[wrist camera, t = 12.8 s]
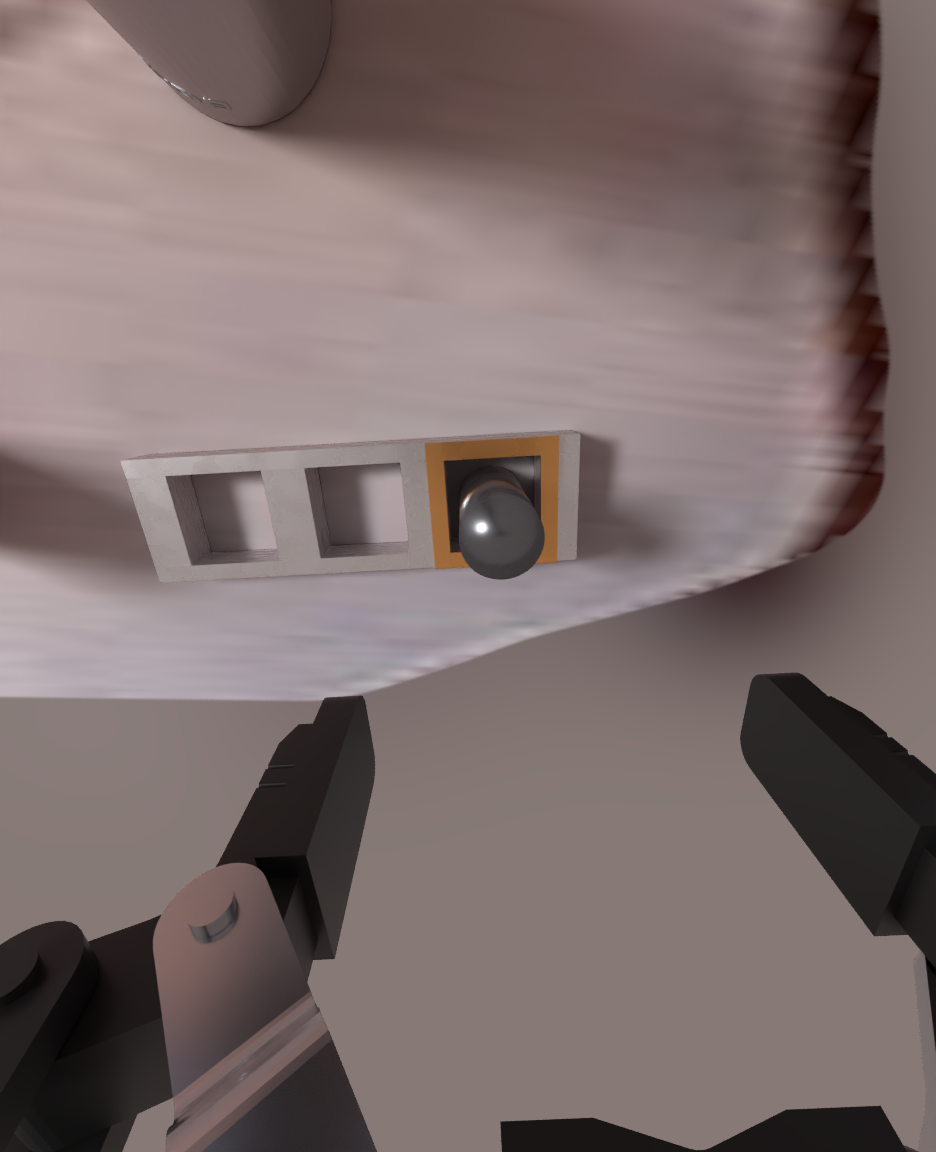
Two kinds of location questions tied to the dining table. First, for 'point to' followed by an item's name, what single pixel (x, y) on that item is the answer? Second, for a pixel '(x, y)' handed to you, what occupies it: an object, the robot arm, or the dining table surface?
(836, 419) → the dining table surface
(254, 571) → the white compartment tray
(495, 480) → the steel pin
